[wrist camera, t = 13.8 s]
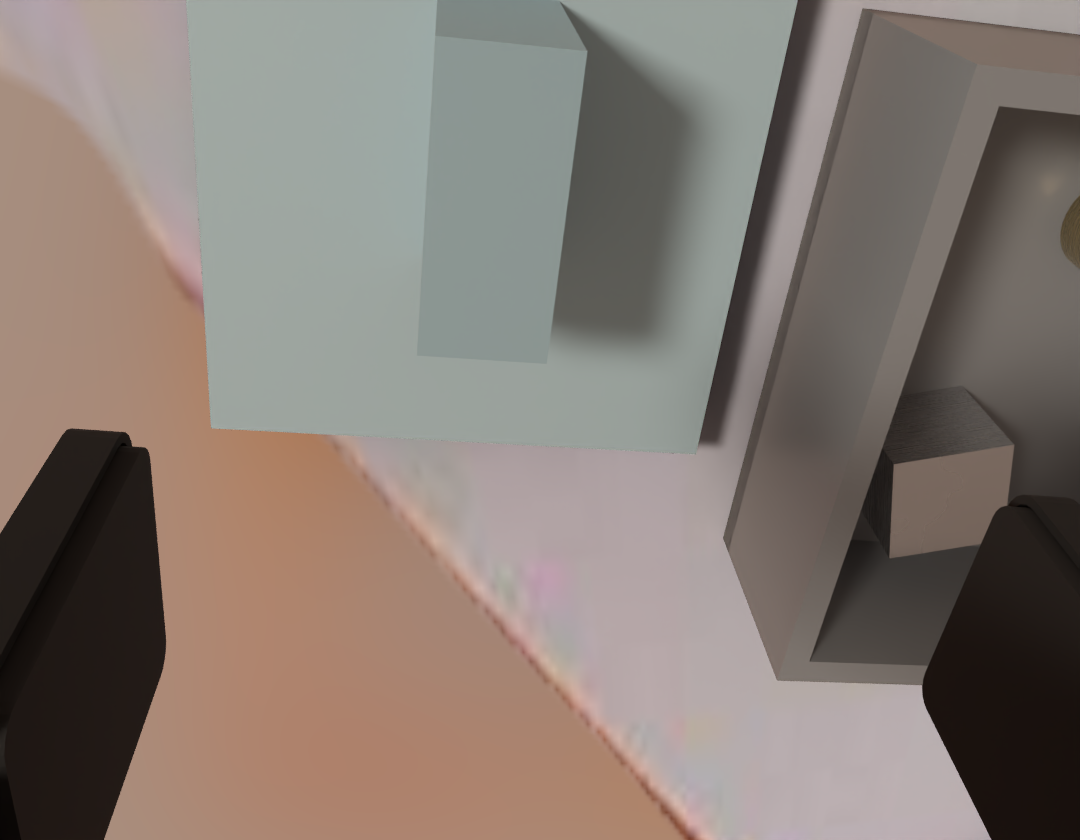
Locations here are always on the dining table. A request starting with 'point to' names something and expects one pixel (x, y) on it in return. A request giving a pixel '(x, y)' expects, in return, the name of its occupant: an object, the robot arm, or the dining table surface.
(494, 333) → the lid
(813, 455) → the tub
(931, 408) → the steel block
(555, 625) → the dining table surface
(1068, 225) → the brass knob
